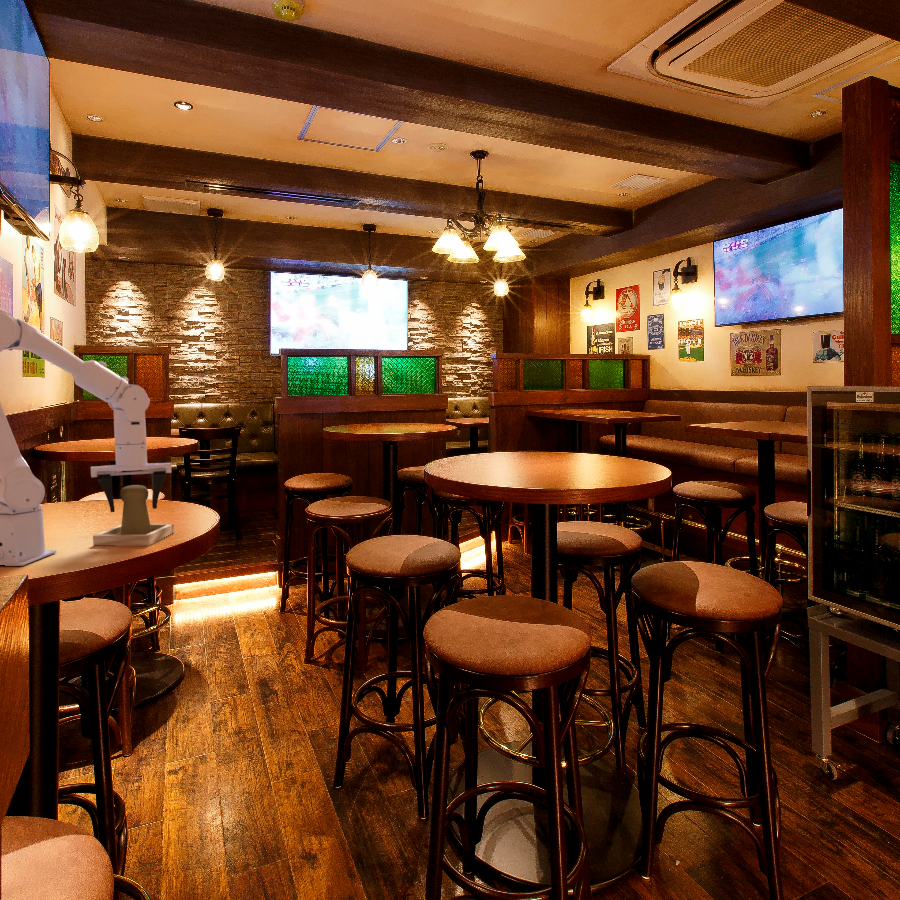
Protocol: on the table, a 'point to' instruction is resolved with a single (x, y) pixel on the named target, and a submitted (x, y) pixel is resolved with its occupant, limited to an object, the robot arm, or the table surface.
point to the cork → (135, 511)
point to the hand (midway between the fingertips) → (133, 509)
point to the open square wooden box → (133, 536)
